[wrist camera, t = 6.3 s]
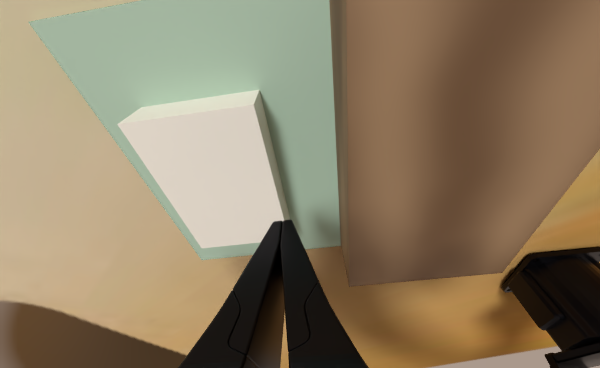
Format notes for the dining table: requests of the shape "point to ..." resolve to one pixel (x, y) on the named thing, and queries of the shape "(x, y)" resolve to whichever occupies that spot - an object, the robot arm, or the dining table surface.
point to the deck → (457, 128)
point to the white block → (213, 165)
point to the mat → (217, 85)
